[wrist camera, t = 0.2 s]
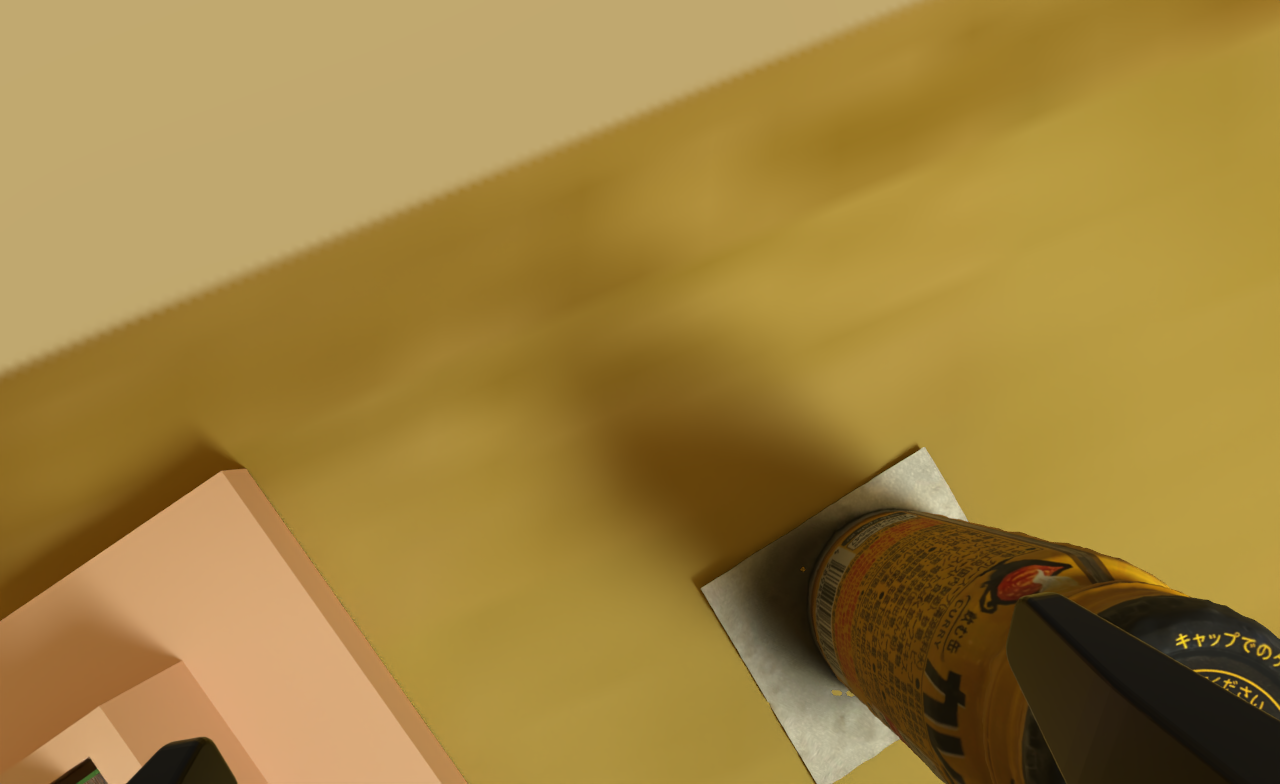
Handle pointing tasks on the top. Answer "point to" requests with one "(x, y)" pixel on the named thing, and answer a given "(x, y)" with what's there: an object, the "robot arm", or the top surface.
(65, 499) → the top surface
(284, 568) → the stand
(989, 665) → the condiment
